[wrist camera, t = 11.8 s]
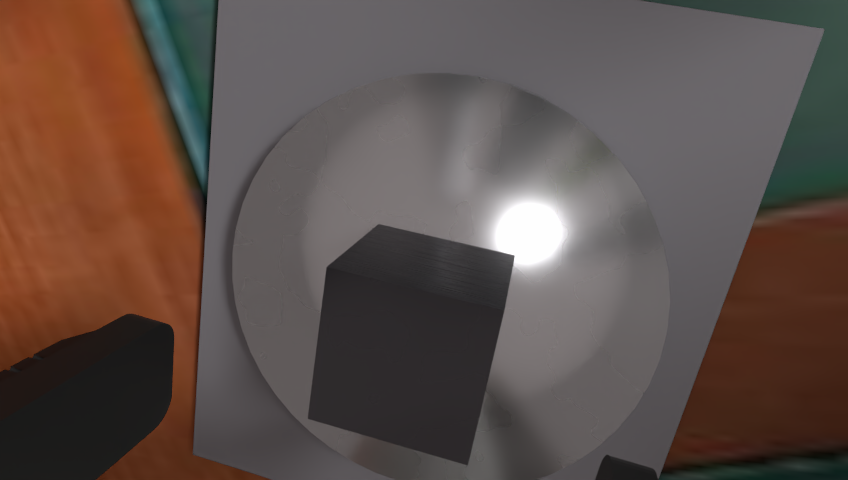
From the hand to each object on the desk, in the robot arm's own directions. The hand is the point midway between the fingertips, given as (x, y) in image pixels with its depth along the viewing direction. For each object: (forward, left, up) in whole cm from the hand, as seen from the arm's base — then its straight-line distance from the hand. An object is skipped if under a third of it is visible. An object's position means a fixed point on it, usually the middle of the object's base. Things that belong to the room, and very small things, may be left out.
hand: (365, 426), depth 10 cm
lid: (0, 0, -8) cm, 8 cm away
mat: (0, 0, -8) cm, 8 cm away
